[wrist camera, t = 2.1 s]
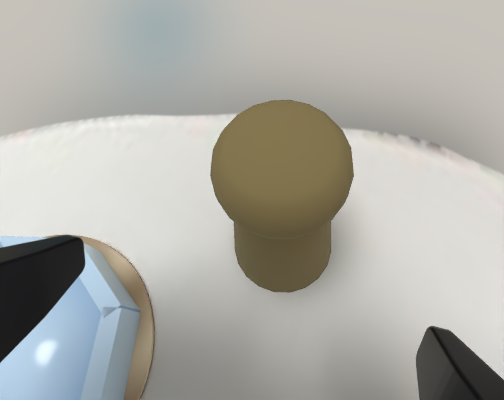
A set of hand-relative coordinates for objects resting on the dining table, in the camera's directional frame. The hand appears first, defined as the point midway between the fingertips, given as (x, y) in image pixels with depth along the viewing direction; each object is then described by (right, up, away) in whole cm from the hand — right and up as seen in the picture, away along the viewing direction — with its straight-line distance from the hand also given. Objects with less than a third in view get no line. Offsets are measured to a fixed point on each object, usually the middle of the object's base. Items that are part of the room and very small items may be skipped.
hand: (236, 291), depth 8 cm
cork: (+2, 0, +12) cm, 13 cm away
